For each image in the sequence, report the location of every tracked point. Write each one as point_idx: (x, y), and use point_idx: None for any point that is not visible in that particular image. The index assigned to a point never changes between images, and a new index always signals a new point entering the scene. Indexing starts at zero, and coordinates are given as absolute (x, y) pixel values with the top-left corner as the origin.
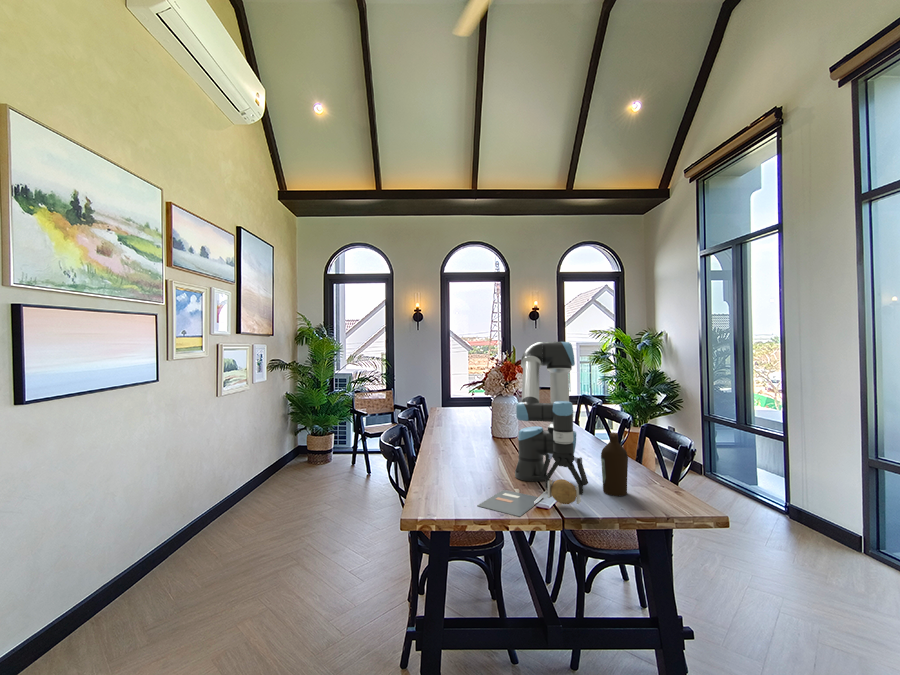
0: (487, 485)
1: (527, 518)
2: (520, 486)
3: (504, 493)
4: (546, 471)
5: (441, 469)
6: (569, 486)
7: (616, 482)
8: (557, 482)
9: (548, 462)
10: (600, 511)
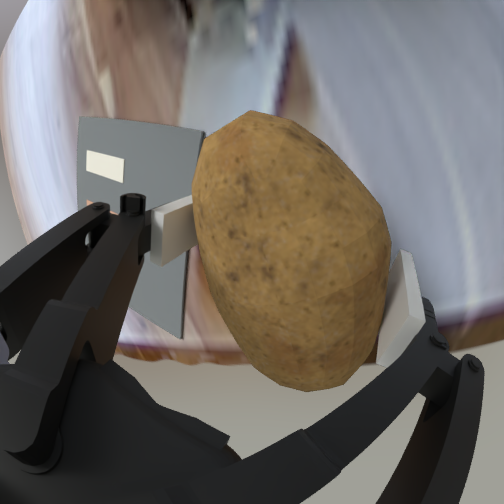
0: (53, 104)
1: (202, 346)
2: (111, 41)
3: (87, 156)
4: (84, 239)
5: (8, 76)
6: (316, 383)
7: None
8: (217, 273)
9: (27, 322)
10: (494, 242)
